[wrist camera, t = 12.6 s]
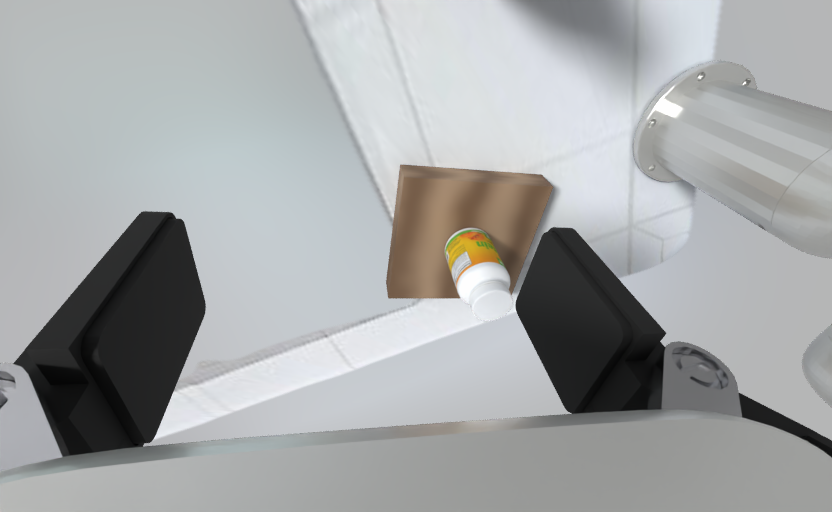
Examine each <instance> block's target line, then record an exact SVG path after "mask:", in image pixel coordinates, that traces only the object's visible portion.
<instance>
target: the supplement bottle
mask: <svg viewBox="0 0 832 512" xmlns="http://www.w3.org/2000/svg"><path fill="white" fill-rule="evenodd" d="M445 256H446V259H447V262H448V265H449V268H450V271H451V274H452V277H453V280H454V283H455V286H456V289H457V292H458V294H459V296H460V298H461V299H462V300H463V301H464V302H465V303H466V304H468V305H470V308H471V310H472V313H473V315H474V316H475V317H476V318H478V319H480V320H483V321H492V320H496V319H499V318H501V317H503V316H504V315H506V314H507V313H508V312H509V311H510V310H511V308H512V305H513V298H512V295H511V293H510V291H509V287H510V276H509V274H508V272H507V270H506V268H505V266H504V264H503V262H502V260H501V258H500V257H499V255H498V253H497V251H496V249H495V247H494V245H493V243H492V241H491V239H490V237H489V236H488V234H487V233H486V232H484V231H483V230H481V229H478V228H465V229H462V230H459V231H457V232H456V233H454V234H453V235H452V236H451V237H450V238H449V239H448V241H447V243H446V246H445Z"/></svg>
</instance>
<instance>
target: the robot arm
mask: <svg viewBox="0 0 832 512" xmlns="http://www.w3.org/2000/svg"><path fill="white" fill-rule="evenodd" d="M633 154H634V158H635V162H636V164H637V165H638V167H639V169H640V170H641V171H643V172H644V173H645V174H646V175H648V176H649V177H651V178H653V179H655V180H658V181H665V182H672V181H679V180H683V179H684V180H685V181H687V182H688V183H690V184H692V185H693V186H695V187H696V188H698V189H700V190H701V191H703V192H704V193H706V194H708V195H709V196H711V197H713V198H714V199H716V200H717V201H719V202H721V203H722V204H724V205H725V206H727V207H729V208H730V209H732V210H734V211H735V212H737V213H738V214H740V215H742V216H743V217H745V218H746V219H748V220H750V221H751V222H753V223H754V224H756V225H758V226H759V227H761V228H762V229H764V230H766V231H767V232H769V233H771V234H773V235H775V236H776V237H778V238H779V239H781V240H782V241H784V242H786V243H787V244H789V245H791V246H792V247H794V248H796V249H798V250H800V251H802V252H805V253H808V254H811V255H815V256H819V257H823V258H831V259H832V111H829V110H826V109H822V108H819V107H816V106H812V105H808V104H805V103H801V102H798V101H795V100H791V99H787V98H784V97H780V96H777V95H774V94H770V93H767V92H764V91H760V90H757V86H756V83H755V79H754V77H753V75H752V74H751V72H750V71H749V70H748V69H746V68H745V67H743V66H742V65H739V64H736V63H732V62H726V61H712V62H707V63H704V64H701V65H698V66H696V67H693V68H691V69H689V70H687V71H685V72H684V73H682V74H681V75H679V76H678V77H676V78H675V79H674V80H672V81H671V82H670V83H669V84H668V85H667V86H666V87H664V88H663V89H662V90H661V91H660V93H659V94H658V95H657V96H656V97H655V98H654V99H653V101H652V102H651V103H650V105H649V106H648V108H647V109H646V111H645V112H644V114H643V116H642V118H641V120H640V122H639V124H638V127H637V130H636V133H635V137H634V143H633ZM205 307H206V306H205V300H204V295H203V292H202V288H201V284H200V280H199V277H198V273H197V269H196V265H195V261H194V258H193V254H192V250H191V246H190V242H189V239H188V235H187V231H186V227H185V224H184V222H183V220H182V219H176V218H175V216H174V215H173V213H170V212H141V213H140V214H139V215H138V216H137V217H136V219H135V220H134V221H133V222H132V223H131V225H130V226H129V227H128V228H127V229H126V231H125V232H124V233H123V234H122V235H121V236H120V238H119V239H118V240H117V241H116V242H115V244H114V245H113V246H112V247H111V248H110V249H109V251H108V252H107V253H106V254H105V255H104V257H103V258H102V259H101V260H100V261H99V262H98V264H97V265H96V266H95V267H94V268H93V270H92V271H91V272H90V273H89V274H88V275H87V277H86V278H85V279H84V280H83V281H82V283H81V284H80V285H79V286H78V288H77V289H76V290H75V291H74V292H73V293H72V294H71V296H70V297H69V298H68V299H67V301H66V302H65V303H64V304H63V305H62V306H61V308H60V309H59V310H58V311H57V312H56V314H55V315H54V316H53V317H52V318H51V319H50V320H49V322H48V323H47V324H46V325H45V326H44V328H43V329H42V330H41V331H40V332H39V333H38V335H37V336H36V337H35V338H34V339H33V341H32V342H31V343H30V344H29V345H28V346H27V348H26V349H25V351H24V352H23V353H22V354H21V355H20V356H19V358H18V359H17V360H16V361H15V362H14V364H12V363H0V512H832V441H831V440H830V439H828V438H826V437H823V436H821V435H820V434H818V433H817V432H815V431H813V430H811V429H809V428H807V427H805V426H803V425H801V424H799V423H797V422H795V421H793V420H791V419H789V418H787V417H785V416H784V415H782V414H780V413H778V412H776V411H774V410H772V409H770V408H768V407H766V406H764V405H762V404H760V403H758V402H756V401H754V400H752V399H750V398H748V397H746V396H744V395H742V394H740V393H738V387H737V382H736V380H735V377H734V376H733V374H732V372H731V371H730V370H729V368H728V367H727V366H726V365H725V364H724V363H722V361H720V360H719V359H718V358H717V357H715V356H714V355H712V354H711V353H710V352H708V351H706V350H704V349H702V348H700V347H698V346H695V345H693V344H689V343H685V342H672V343H670V344H668V345H667V346H666V347H664V346H663V345H662V343H661V342H660V341H661V340H662V338H663V337H664V336H665V334H666V332H665V331H664V330H663V329H662V328H661V327H660V325H659V324H658V323H657V322H656V321H655V320H654V319H653V318H652V316H651V315H650V314H649V313H648V312H647V311H646V310H645V309H644V308H643V306H642V305H641V304H640V303H639V302H638V301H637V300H636V299H635V298H634V296H633V295H632V294H631V293H630V292H629V291H628V289H627V288H626V287H625V286H624V285H623V284H622V283H621V281H620V280H619V279H618V278H617V277H616V276H615V275H614V274H613V272H612V271H611V270H610V269H609V268H608V267H607V266H606V265H605V263H604V262H603V261H602V260H601V259H600V258H599V257H598V256H597V254H596V253H595V252H594V251H593V250H592V249H591V248H590V247H589V245H588V244H587V243H586V242H585V241H584V240H583V239H582V238H581V236H580V235H579V234H578V233H577V232H576V231H575V230H574V229H573V228H556V227H553V228H551V229H550V230H549V231H548V232H546V233H544V234H543V236H542V237H541V240H540V242H539V245H538V247H537V250H536V252H535V255H534V257H533V260H532V262H531V265H530V267H529V270H528V272H527V275H526V277H525V280H524V282H523V285H522V287H521V290H520V292H519V295H518V297H517V300H516V311H517V314H518V316H519V318H520V320H521V322H522V324H523V326H524V328H525V330H526V332H527V334H528V336H529V338H530V340H531V342H532V344H533V345H534V348H535V350H536V351H537V354H538V356H539V357H540V360H541V361H542V363H543V366H544V367H545V370H546V371H547V373H548V375H549V377H550V379H551V381H552V383H553V385H554V387H555V389H556V391H557V393H558V395H559V397H560V399H561V401H562V403H563V405H564V407H565V409H566V410H567V411H568V412H570V413H572V414H566V415H565V414H564V415H549V416H534V417H520V418H505V419H490V420H476V421H462V422H448V423H435V424H434V423H433V424H420V425H406V426H394V427H393V426H392V427H379V428H365V429H351V430H339V431H325V432H313V433H300V434H287V435H274V436H260V437H248V438H235V439H222V440H211V441H201V442H190V443H179V444H169V445H158V446H146V447H143V445H144V443H150V442H151V441H152V440H153V439H154V437H155V435H156V433H157V430H158V428H159V426H160V423H161V421H162V418H163V416H164V413H165V411H166V408H167V406H168V403H169V401H170V399H171V396H172V394H173V391H174V389H175V386H176V384H177V381H178V379H179V377H180V374H181V371H182V369H183V367H184V364H185V362H186V359H187V357H188V354H189V352H190V350H191V347H192V345H193V342H194V340H195V337H196V335H197V332H198V330H199V327H200V325H201V322H202V320H203V317H204V315H205ZM802 369H803V372H804V375H805V377H806V379H807V381H808V382H809V384H810V385H811V387H812V388H813V389H814V390H815V392H816V393H817V394H818V395H819V396H820V397H821V398H822V399H823V400H824V401H825V402H826V403H827V404H828V405H829V406H830V407H832V324H831V325H830V326H829V327H828V328H827V329H826V330H824V331H823V332H822V333H821V334H820V335H819V336H818V337H817V338H816V339H815V340H814V341H812V343H811V344H810V345H809V347H808V348H807V349H806V351H805V353H804V355H803V359H802Z"/></svg>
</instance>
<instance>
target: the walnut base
mask: <svg viewBox="0 0 832 512" xmlns="http://www.w3.org/2000/svg"><path fill="white" fill-rule="evenodd" d="M552 189H553V186H552V185H551V184H550V183H549V182H548V181H547V180H546V179H545V178H544V177H543V176H542V175H537V174H523V173H509V172H495V171H481V170H468V169H454V168H440V167H426V166H412V165H400V172H399V180H398V188H397V197H396V205H395V213H394V222H393V230H392V239H391V247H390V255H389V264H388V272H387V280H386V284H387V292H388V298H460V296H459V294H458V292H457V289H456V286H455V283H454V280H453V277H452V274H451V271H450V268H449V265H448V262H447V259H446V256H445V246H446V243H447V241H448V239H449V238H450V237H451V236H452V235H453V234H454V233H456V232H457V231H459V230H462V229H465V228H478V229H481V230H483V231H484V232H486V233H487V234H488V236H489V237H490V239H491V241H492V243H493V245H494V247H495V249H496V251H497V253H498V255H499V257H500V258H501V260H502V262H503V264H504V266H505V268H506V270H507V272H508V274H509V276H510V287H509V291H510V293H511V295H512V292H513V290H514V287H515V284H516V282H517V279H518V277H519V274H520V272H521V269H522V266H523V264H524V261H525V259H526V256H527V253H528V251H529V248H530V246H531V243H532V240H533V238H534V235H535V233H536V230H537V228H538V225H539V222H540V220H541V217H542V215H543V212H544V209H545V207H546V204H547V202H548V199H549V197H550V194H551V191H552Z"/></svg>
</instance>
